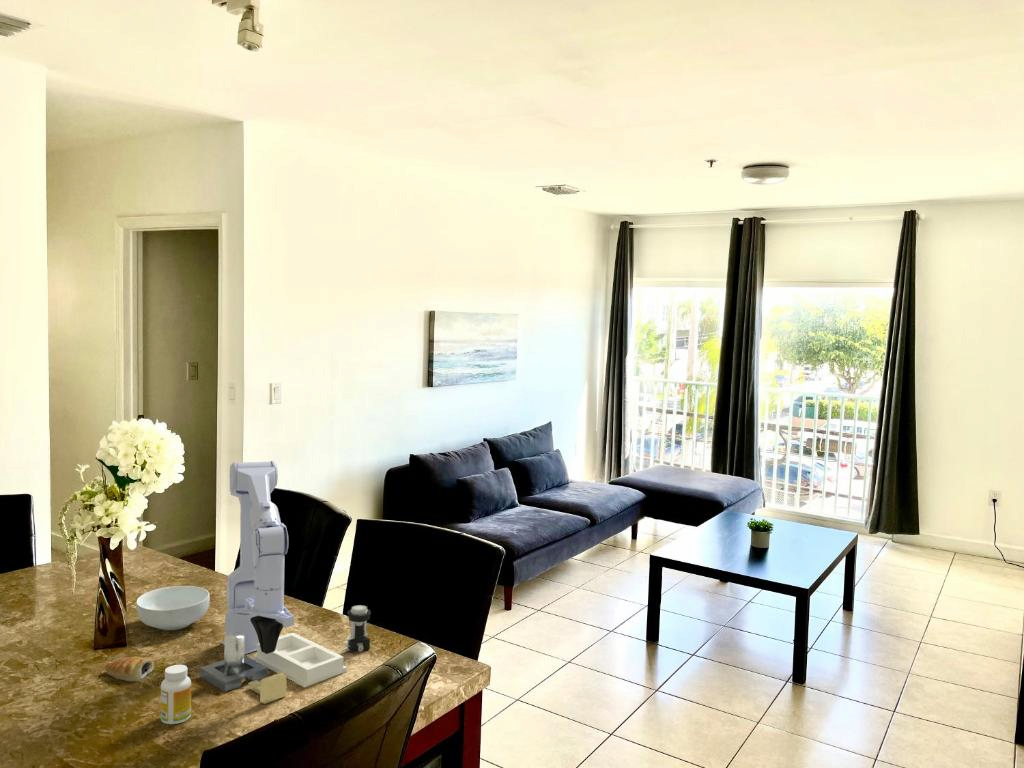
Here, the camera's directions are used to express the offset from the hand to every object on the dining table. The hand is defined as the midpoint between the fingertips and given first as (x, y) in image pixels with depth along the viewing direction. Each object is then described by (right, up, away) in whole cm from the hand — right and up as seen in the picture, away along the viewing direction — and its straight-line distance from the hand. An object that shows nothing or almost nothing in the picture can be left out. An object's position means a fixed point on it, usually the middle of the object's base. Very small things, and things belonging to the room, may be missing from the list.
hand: (268, 651), depth 164 cm
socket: (-10, -8, +9) cm, 16 cm away
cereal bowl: (-34, -5, +36) cm, 50 cm away
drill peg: (-10, -8, +9) cm, 16 cm away
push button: (+13, -8, +25) cm, 29 cm away
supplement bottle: (-15, -10, -9) cm, 20 cm away
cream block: (-1, -9, +2) cm, 9 cm away
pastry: (-32, -8, +8) cm, 34 cm away
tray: (+2, -8, +15) cm, 18 cm away
